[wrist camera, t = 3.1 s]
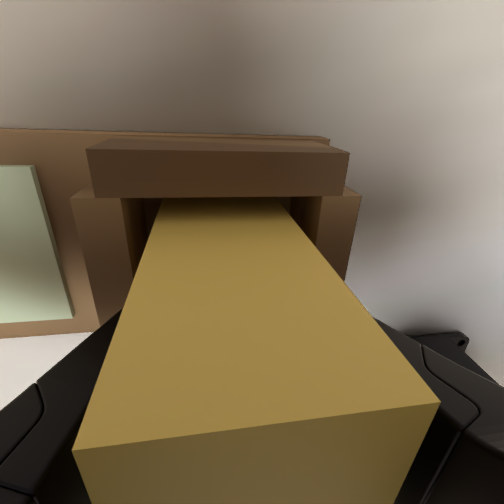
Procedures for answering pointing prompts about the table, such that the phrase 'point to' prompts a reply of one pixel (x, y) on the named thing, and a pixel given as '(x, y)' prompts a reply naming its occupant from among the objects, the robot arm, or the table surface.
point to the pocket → (203, 185)
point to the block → (247, 373)
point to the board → (56, 227)
